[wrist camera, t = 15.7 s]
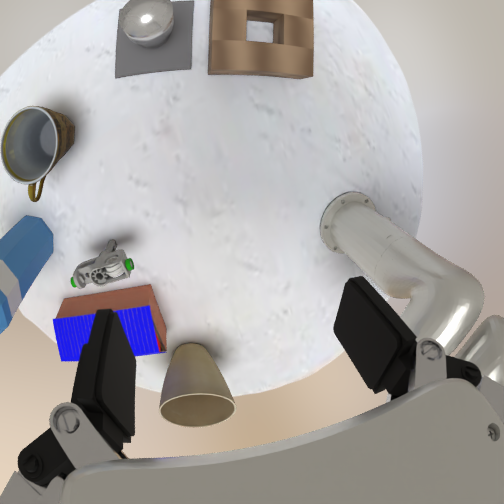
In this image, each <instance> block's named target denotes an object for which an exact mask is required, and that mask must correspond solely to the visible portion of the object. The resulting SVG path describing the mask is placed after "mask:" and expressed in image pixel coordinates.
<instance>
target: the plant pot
mask: <svg viewBox="0 0 504 504" xmlns="http://www.w3.org/2000/svg"><path fill="white" fill-rule="evenodd" d="M235 412H236V405H235V402H234V400H233V397H232V395H231V393H230V390H229V388H228V386H227V384H226V382H225V380H224V378H223V376H222V374H221V372H220V370H219V369H218V367H217V365H216V364H215V362H214V360H213V359H212V357H211V356H210V354H209V353H208V352H207V350H206V349H205V348H204V347H203V346H201V345H199V344H195V343H187V344H183V345H181V346H179V347H178V348H177V349H176V351H175V353H174V355H173V357H172V359H171V362H170V364H169V367H168V370H167V373H166V376H165V380H164V384H163V388H162V393H161V400H160V407H159V413H160V415H161V417H162V418H163V419H164V420H166V421H168V422H169V423H171V424H174V425H178V426H182V427H192V428H197V427H207V426H212V425H216V424H219V423H222V422H224V421H226V420H228V419H229V418H230V417H232V416H233V414H234V413H235Z"/></svg>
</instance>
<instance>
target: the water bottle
mask: <svg viewBox="0 0 504 504" xmlns="http://www.w3.org/2000/svg"><path fill="white" fill-rule="evenodd" d="M52 253H53V233H52V232H51V231H50V229H49V228H48V227H47V225H46V224H45V222H44V221H43V220H42V218H37V217H32V216H27V215H26V216H25V217H24V218H23V219H21V220H20V221H19V222H18V223H17V224H16V225H15V226H14V227H13V228H12V229H11V230H10V231H9V232H8V233H6V234H5V235H4V236H3V237H2V238H1V239H0V334H1V333H2V332H3V331H4V330H5V329H6V328H7V327H8V326H9V324H10V322H11V320H12V318H13V316H14V314H15V312H16V310H17V309H18V307H19V305H20V303H21V302H22V300H23V298H24V296H25V295H26V293H27V291H28V290H29V288H30V286H31V285H32V283H33V282H34V280H35V278H36V277H37V275H38V274H39V272H40V271H41V269H42V268H43V266H44V265H45V263H46V262H47V260H48V259H49V257H50V256H51V254H52Z"/></svg>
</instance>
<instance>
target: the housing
mask: <svg viewBox="0 0 504 504" xmlns="http://www.w3.org/2000/svg"><path fill="white" fill-rule="evenodd" d="M246 20H250V21H261V22H270V23H273V43H266V42H254V41H246ZM313 52H314V27H313V0H211V4H210V25H209V54H208V75H259V76H274V77H285V78H294V79H303V78H308V77H313Z"/></svg>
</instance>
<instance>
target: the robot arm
mask: <svg viewBox="0 0 504 504" xmlns="http://www.w3.org/2000/svg"><path fill="white" fill-rule="evenodd" d="M320 233H321V238H322V240H323V242H324V243H325V245H326V246H327V247H328V248H329V249H330V250H332V251H333V252H336V253H342V254H344V253H345V254H346V255H347V256H348V257H349V258H350V259H351V260H352V261H353V262H354V263H355V264H356V265H357V266H358V267H359V268H360V269H361V270H362V271H363V272H364V273H365V274H366V275H367V276H368V277H369V278H370V279H371V280H372V281H373V282H374V283H375V284H376V285H377V286H378V287H379V288H380V289H381V290H382V291H383V292H384V293H385V294H387V295H388V296H391V297H393V298H400V299H405V298H406V299H407V298H411V300H410V302H409V304H408V305H407V307H406V308H405V310H404V312H403V313H402V314H401V316H400V317H399V316H398V315H397V313H396V312H395V311H394V310H393V309H392V308H391V306H390V305H389V304H388V303H387V302H386V301H385V300H384V299H383V298H382V296H381V295H380V294H379V293H378V292H377V291H376V290H375V289H374V288H373V287H372V286H371V285H370V283H369V282H368V281H367V280H366V279H365V278H364V277H363V276H359V277H353V278H350V279H349V280H348V282H346V283H345V286H344V290H343V294H342V298H341V302H340V306H339V309H338V313H337V316H336V320H335V323H334V333H335V335H336V337H337V338H338V340H339V341H340V343H341V345H342V346H343V348H344V349H345V351H346V353H347V354H348V355H349V357H350V359H351V361H352V362H353V364H354V365H355V367H356V369H357V370H358V372H359V373H360V375H361V377H362V378H363V380H364V382H365V383H366V385H367V386H368V388H370V389H372V390H373V392H374V393H375V394H377V393H379V392H381V391H383V390H385V389H386V390H387V391H388V395H387V401H386V403H385V404H383V405H381V406H379V407H376V408H374V409H372V410H369V411H367V412H365V413H362V414H360V415H358V416H355V417H353V418H350V419H347V420H345V421H342V422H339V423H336V424H334V425H331V426H328V427H325V428H322V429H319V430H316V431H312V432H309V433H306V434H303V435H299V436H296V437H292V438H288V439H284V440H280V441H277V442H272V443H268V444H263V445H259V446H254V447H250V448H244V449H238V450H232V451H226V452H219V453H211V454H203V455H192V456H181V457H166V458H139V459H129V458H128V457H127V456H126V455H125V454H124V452H123V451H122V449H123V443H131V436H134V435H135V378H136V359H135V356H134V353H133V351H132V349H131V346H130V344H129V342H128V339H127V337H126V334H125V332H124V329H123V327H122V324H121V321H120V319H119V316H118V314H117V312H113V310H112V309H98V310H97V311H96V314H95V318H94V321H93V325H92V329H91V332H90V336H89V340H88V343H85V344H84V345H83V347H82V350H81V354H80V358H79V363H78V367H77V372H76V377H75V382H74V386H73V392H72V398H71V403H69V402H66V403H61V404H59V405H57V407H55V408H54V409H53V411H52V412H51V415H50V419H49V420H50V428H49V429H48V430H47V431H45V432H44V433H43V434H42V435H40V436H39V437H38V438H37V439H36V440H34V441H33V442H32V443H30V444H29V445H28V446H27V447H26V448H24V449H23V450H22V451H21V452H20V454H19V456H18V468H19V471H18V472H16V471H14V473H13V475H12V476H11V478H10V480H9V482H8V484H7V485H6V487H5V489H4V491H3V493H2V495H1V496H0V504H504V318H503V317H501V316H499V315H492V316H490V317H488V318H487V319H486V320H484V321H483V322H482V323H481V325H480V326H479V327H478V328H477V329H476V331H475V332H474V333H473V334H472V336H471V337H470V338H469V340H468V341H467V342H466V343H465V345H464V346H463V347H462V348H461V349H460V351H459V352H458V353H457V354H456V355H455V357H451V356H449V355H450V354H451V353H452V352H453V351H454V350H455V349H456V348H457V346H458V345H459V344H460V343H461V341H462V340H463V339H464V337H465V336H466V335H467V334H468V332H469V331H470V330H471V328H472V327H473V325H474V324H475V322H476V321H477V319H478V317H479V315H480V313H481V310H482V307H483V304H484V291H483V288H482V285H481V284H480V282H479V281H478V280H477V279H476V278H475V277H474V276H473V275H472V274H471V273H469V272H467V271H466V270H464V269H463V268H461V267H459V266H457V265H455V264H454V263H452V262H450V261H448V260H446V259H444V258H443V257H441V256H440V255H438V254H436V253H435V252H433V251H432V250H430V249H429V248H428V247H426V246H425V245H423V244H422V243H420V242H419V241H418V240H416V239H415V238H414V237H412V236H411V235H409V234H408V233H407V232H405V231H404V230H402V229H401V228H399V227H398V226H397V225H395V224H394V223H392V222H391V221H390V218H389V217H383V216H382V215H380V214H379V213H377V212H376V209H375V206H374V204H373V202H372V201H371V200H370V199H369V198H368V197H367V196H365V195H363V194H361V193H358V192H349V193H345V194H343V195H341V196H339V197H338V198H336V199H335V200H334V201H333V202H332V203H331V204H330V205H329V206H328V208H327V209H326V211H325V213H324V215H323V217H322V220H321V226H320Z"/></svg>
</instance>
